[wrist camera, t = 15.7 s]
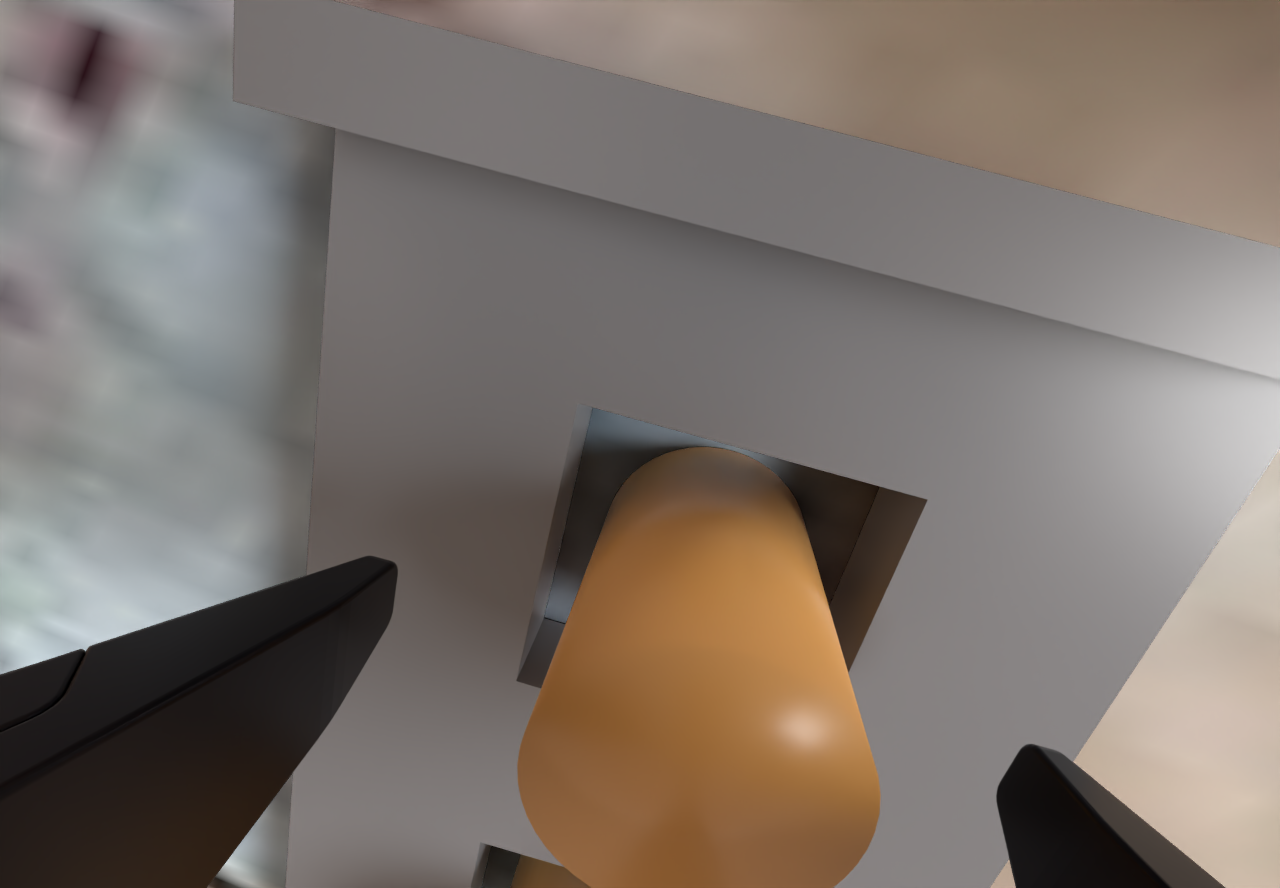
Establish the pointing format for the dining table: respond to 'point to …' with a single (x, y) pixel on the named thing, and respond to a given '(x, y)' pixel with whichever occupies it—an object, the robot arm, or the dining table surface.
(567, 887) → the orange tapered peg
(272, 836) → the dining table surface
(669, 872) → the orange rounded plug
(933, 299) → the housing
